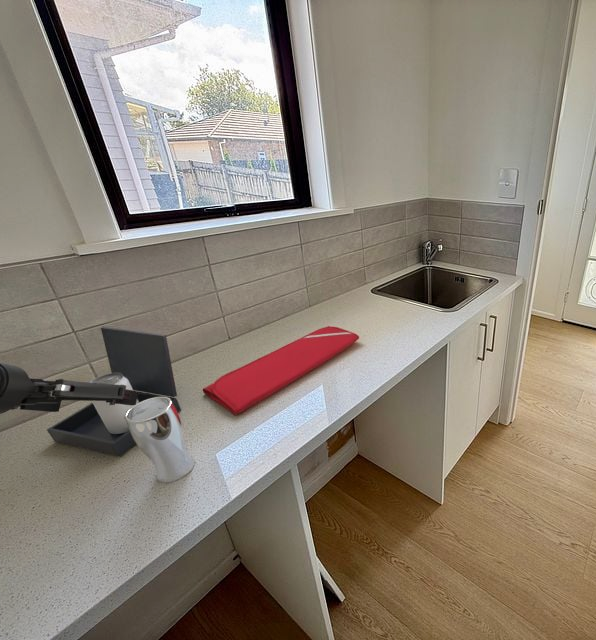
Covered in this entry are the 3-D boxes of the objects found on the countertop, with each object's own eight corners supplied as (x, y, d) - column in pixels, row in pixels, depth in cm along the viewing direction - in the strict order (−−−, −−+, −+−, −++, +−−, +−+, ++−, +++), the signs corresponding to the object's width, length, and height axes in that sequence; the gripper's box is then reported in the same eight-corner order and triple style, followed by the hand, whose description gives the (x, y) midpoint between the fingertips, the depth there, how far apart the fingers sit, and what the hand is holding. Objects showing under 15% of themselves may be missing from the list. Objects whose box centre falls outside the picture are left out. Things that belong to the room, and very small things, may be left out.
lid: (162, 336, 73) (166, 335, 74) (100, 327, 76) (104, 326, 77) (174, 397, 77) (177, 395, 78) (114, 386, 80) (118, 385, 81)
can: (151, 421, 75) (131, 377, 70) (115, 439, 70) (90, 394, 65) (139, 410, 78) (118, 368, 73) (103, 427, 73) (79, 383, 68)
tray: (120, 457, 67) (113, 443, 65) (54, 442, 70) (46, 429, 69) (181, 410, 79) (176, 398, 78) (123, 399, 83) (117, 387, 81)
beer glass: (160, 460, 66) (131, 400, 60) (201, 450, 68) (177, 392, 62) (148, 489, 60) (115, 427, 54) (193, 478, 63) (166, 416, 56)
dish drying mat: (202, 393, 85) (198, 381, 83) (327, 331, 115) (326, 321, 114) (236, 418, 77) (232, 405, 75) (361, 344, 108) (360, 334, 106)
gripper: (-150, 423, 44) (19, 427, 64) (67, 405, 47) (162, 414, 67) (-125, 367, 46) (30, 387, 66) (79, 353, 49) (168, 377, 69)
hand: (97, 401), depth 66 cm, fingers open, 13 cm apart
